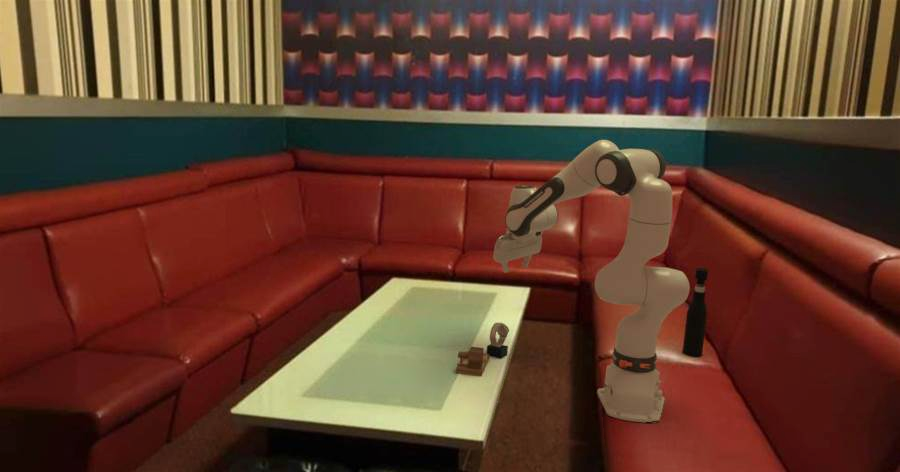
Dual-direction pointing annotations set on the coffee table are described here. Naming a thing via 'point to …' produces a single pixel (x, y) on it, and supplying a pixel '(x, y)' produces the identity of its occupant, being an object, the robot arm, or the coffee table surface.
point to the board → (463, 368)
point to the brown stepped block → (473, 357)
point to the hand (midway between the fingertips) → (515, 269)
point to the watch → (496, 347)
